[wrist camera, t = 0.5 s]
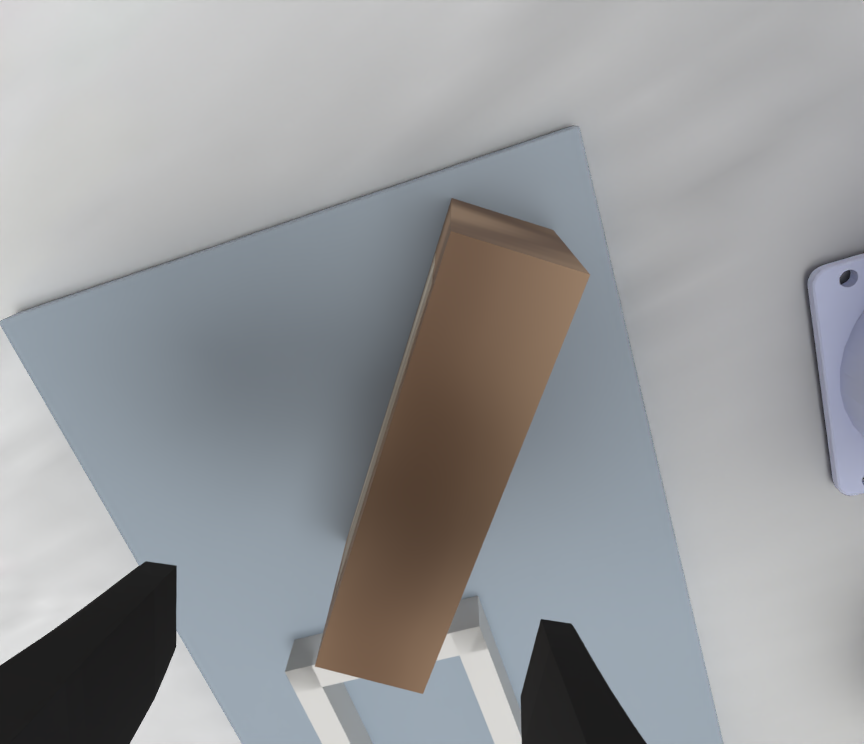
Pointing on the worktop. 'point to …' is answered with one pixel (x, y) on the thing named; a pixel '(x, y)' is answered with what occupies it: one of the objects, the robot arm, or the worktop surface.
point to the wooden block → (449, 440)
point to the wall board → (350, 458)
